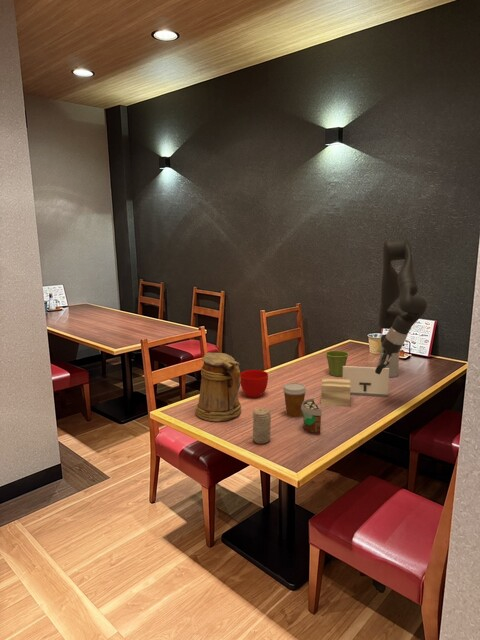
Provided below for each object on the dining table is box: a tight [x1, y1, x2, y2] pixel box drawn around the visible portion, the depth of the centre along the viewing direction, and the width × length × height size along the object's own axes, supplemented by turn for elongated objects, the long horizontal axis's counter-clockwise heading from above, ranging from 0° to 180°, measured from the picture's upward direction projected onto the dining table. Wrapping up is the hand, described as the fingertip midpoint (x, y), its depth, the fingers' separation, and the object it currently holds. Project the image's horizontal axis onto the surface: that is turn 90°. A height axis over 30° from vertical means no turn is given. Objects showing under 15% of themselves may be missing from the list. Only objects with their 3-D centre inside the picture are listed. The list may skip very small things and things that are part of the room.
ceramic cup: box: [240, 369, 269, 399], centre depth 212 cm, size 13×17×10 cm
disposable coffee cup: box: [282, 382, 307, 418], centre depth 188 cm, size 10×10×12 cm
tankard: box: [195, 352, 242, 423], centre depth 187 cm, size 18×24×25 cm
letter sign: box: [342, 365, 390, 398], centre depth 209 cm, size 6×20×13 cm, turn 77°
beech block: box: [320, 377, 351, 408], centre depth 201 cm, size 10×12×9 cm
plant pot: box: [325, 350, 350, 377], centre depth 236 cm, size 12×12×11 cm
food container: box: [301, 398, 322, 435], centre depth 174 cm, size 12×6×10 cm, turn 5°
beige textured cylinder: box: [252, 407, 272, 444], centre depth 165 cm, size 6×8×12 cm
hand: (377, 372), depth 197 cm, fingers closed
